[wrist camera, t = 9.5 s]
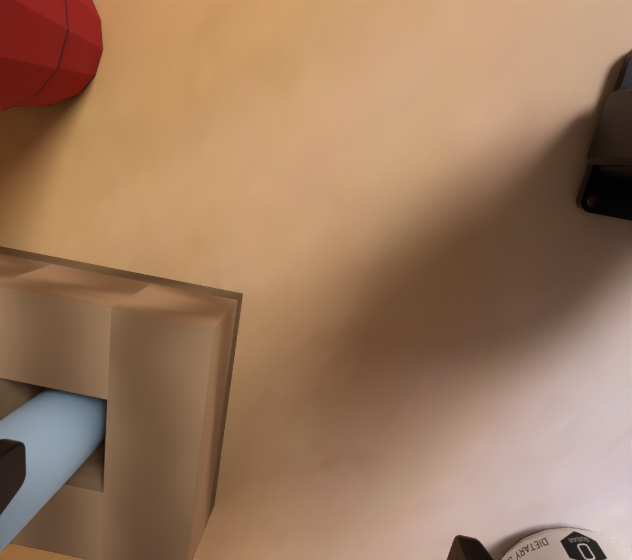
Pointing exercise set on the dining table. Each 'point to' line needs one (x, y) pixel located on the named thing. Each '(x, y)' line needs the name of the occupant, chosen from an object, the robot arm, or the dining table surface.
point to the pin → (50, 449)
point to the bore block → (122, 399)
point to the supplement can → (568, 546)
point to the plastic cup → (47, 50)
